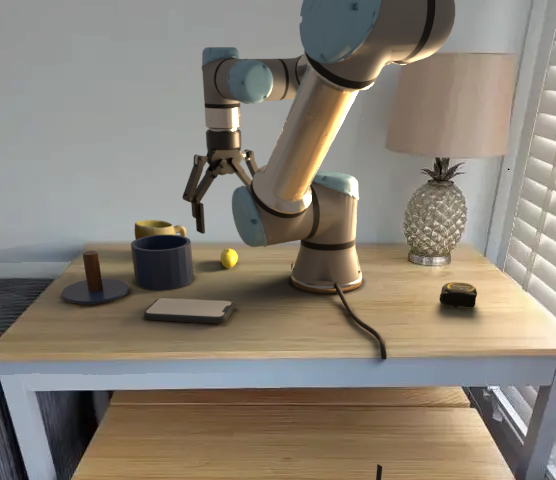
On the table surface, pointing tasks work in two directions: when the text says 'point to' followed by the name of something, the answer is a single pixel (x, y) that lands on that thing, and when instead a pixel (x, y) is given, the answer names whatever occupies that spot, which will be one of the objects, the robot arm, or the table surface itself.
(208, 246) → the table surface
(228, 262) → the lemon
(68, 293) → the lid
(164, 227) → the mug
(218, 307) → the phone case
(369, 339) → the table surface
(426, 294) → the table surface
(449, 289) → the tape measure
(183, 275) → the tin
